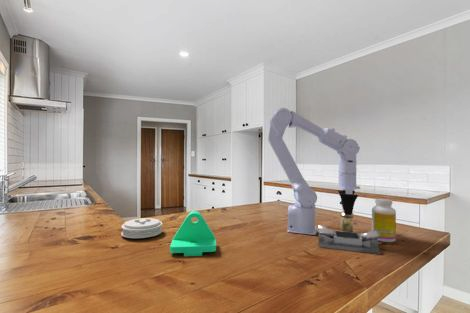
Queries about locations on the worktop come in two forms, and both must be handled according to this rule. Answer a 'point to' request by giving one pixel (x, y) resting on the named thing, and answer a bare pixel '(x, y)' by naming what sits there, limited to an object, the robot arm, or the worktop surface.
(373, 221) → the supplement bottle
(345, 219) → the coupling
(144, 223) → the lid
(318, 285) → the worktop surface
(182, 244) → the camera mount
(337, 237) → the shaft stand
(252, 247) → the worktop surface
